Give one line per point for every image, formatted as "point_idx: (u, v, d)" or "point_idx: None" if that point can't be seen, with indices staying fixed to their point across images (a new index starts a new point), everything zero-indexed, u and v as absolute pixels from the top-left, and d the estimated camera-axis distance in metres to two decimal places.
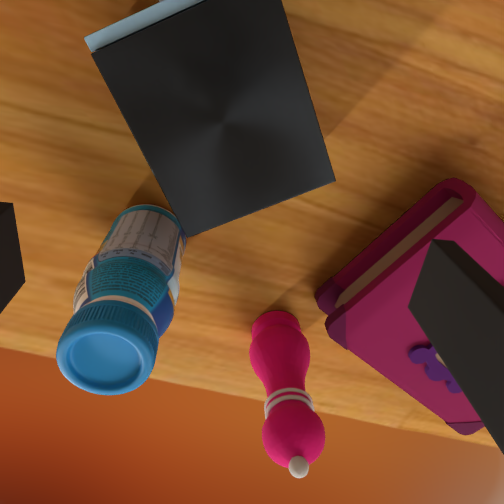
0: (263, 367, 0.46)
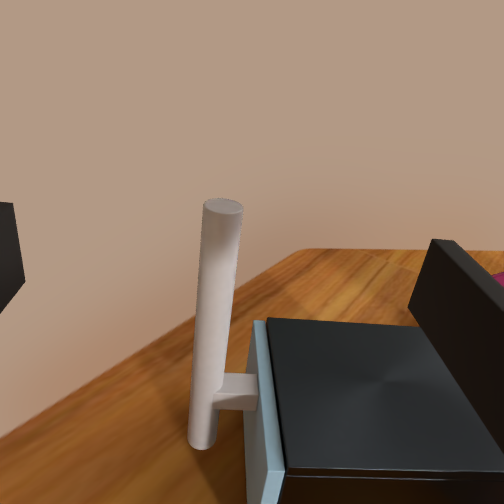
0: None
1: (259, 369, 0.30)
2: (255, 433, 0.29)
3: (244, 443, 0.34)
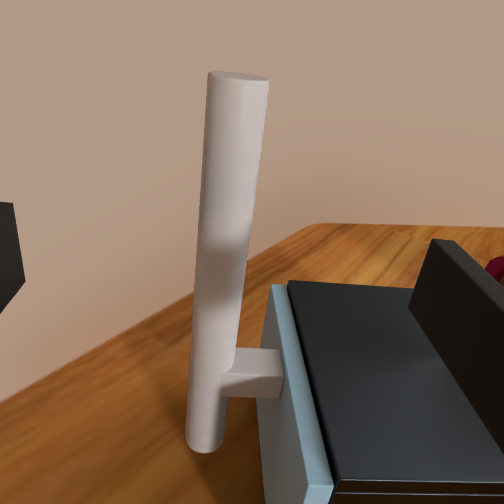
0: None
1: (283, 342, 0.22)
2: (279, 430, 0.21)
3: None
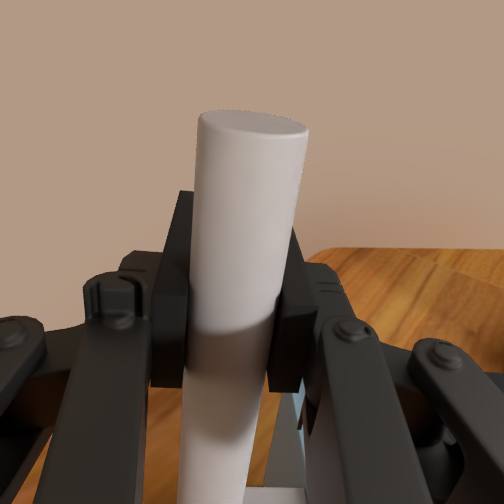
0: None
1: None
2: None
3: None
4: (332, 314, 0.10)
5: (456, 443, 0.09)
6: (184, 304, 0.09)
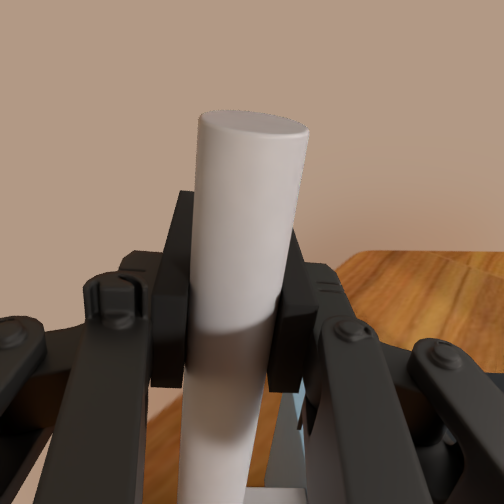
0: None
1: None
2: None
3: None
4: (332, 314, 0.10)
5: (457, 443, 0.09)
6: (184, 304, 0.09)
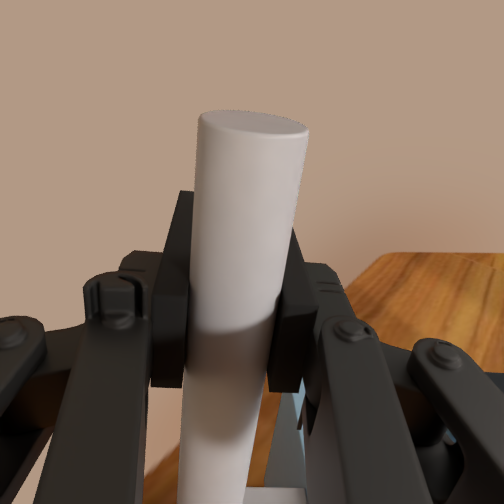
0: None
1: None
2: None
3: None
4: (332, 313, 0.10)
5: (456, 443, 0.09)
6: (184, 304, 0.09)
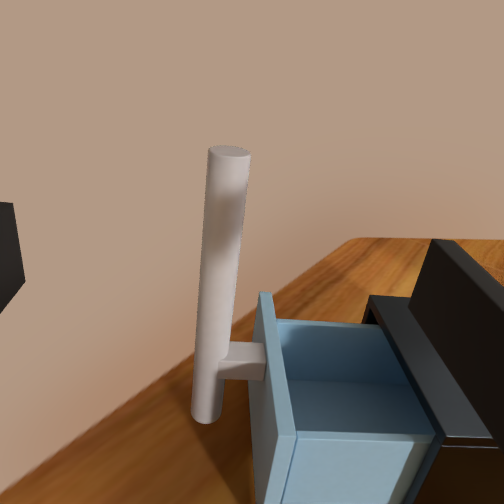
0: None
1: (266, 337, 0.28)
2: (263, 404, 0.27)
3: (250, 420, 0.33)
4: None
5: None
6: None
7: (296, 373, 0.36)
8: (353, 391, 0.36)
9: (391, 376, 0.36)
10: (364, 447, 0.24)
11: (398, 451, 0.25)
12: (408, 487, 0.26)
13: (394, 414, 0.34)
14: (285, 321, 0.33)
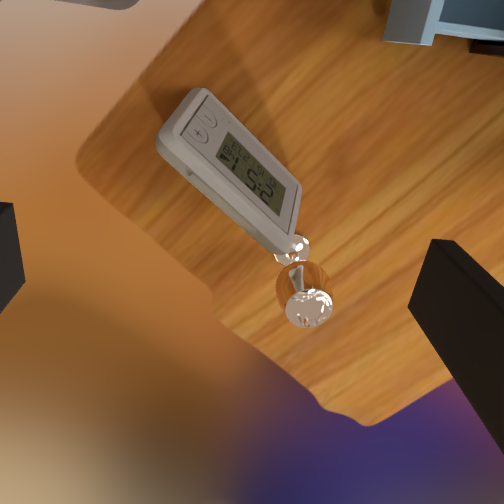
0: None
1: None
2: None
3: None
4: None
5: None
6: None
7: None
8: None
9: None
10: (477, 35, 0.34)
11: (500, 39, 0.35)
12: (494, 40, 0.38)
13: None
14: None
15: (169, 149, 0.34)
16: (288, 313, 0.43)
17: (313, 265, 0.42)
